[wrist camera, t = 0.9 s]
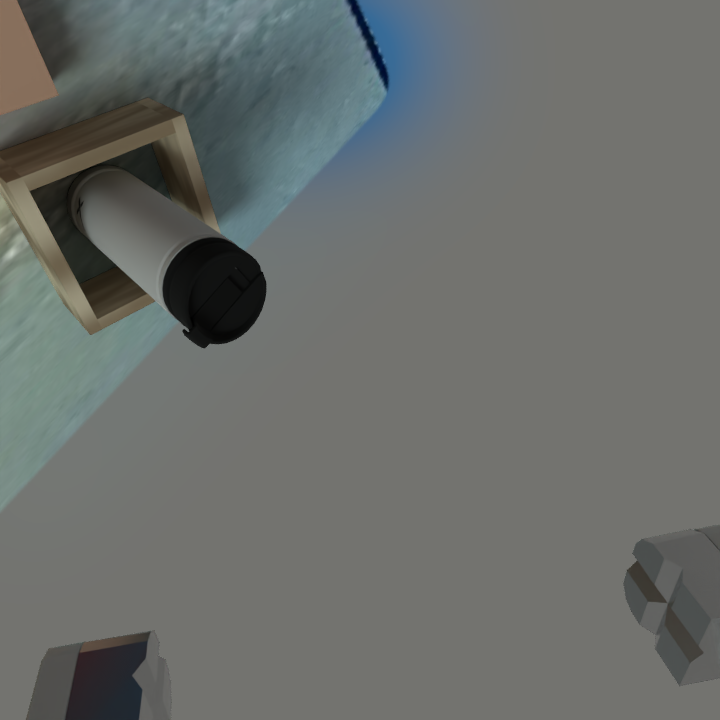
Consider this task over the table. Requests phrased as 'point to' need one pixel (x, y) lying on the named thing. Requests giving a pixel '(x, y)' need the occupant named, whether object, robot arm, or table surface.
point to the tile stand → (20, 62)
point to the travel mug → (169, 254)
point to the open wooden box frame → (80, 151)
